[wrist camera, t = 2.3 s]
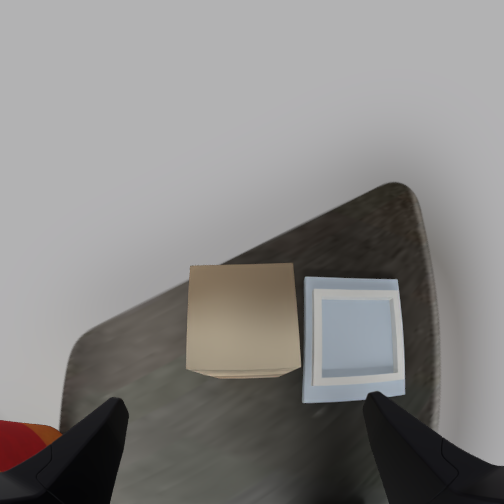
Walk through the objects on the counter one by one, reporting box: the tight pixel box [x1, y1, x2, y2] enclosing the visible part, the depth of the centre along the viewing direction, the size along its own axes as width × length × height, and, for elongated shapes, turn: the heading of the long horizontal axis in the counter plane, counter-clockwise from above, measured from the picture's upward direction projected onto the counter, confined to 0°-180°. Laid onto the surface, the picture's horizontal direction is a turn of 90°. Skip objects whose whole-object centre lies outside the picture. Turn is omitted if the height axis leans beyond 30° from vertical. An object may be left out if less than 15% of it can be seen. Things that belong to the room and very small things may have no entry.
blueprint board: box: [302, 277, 405, 403], centre depth 20 cm, size 10×8×2 cm
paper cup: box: [0, 420, 62, 472], centre depth 9 cm, size 8×8×14 cm
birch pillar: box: [186, 263, 301, 378], centre depth 16 cm, size 4×4×11 cm
